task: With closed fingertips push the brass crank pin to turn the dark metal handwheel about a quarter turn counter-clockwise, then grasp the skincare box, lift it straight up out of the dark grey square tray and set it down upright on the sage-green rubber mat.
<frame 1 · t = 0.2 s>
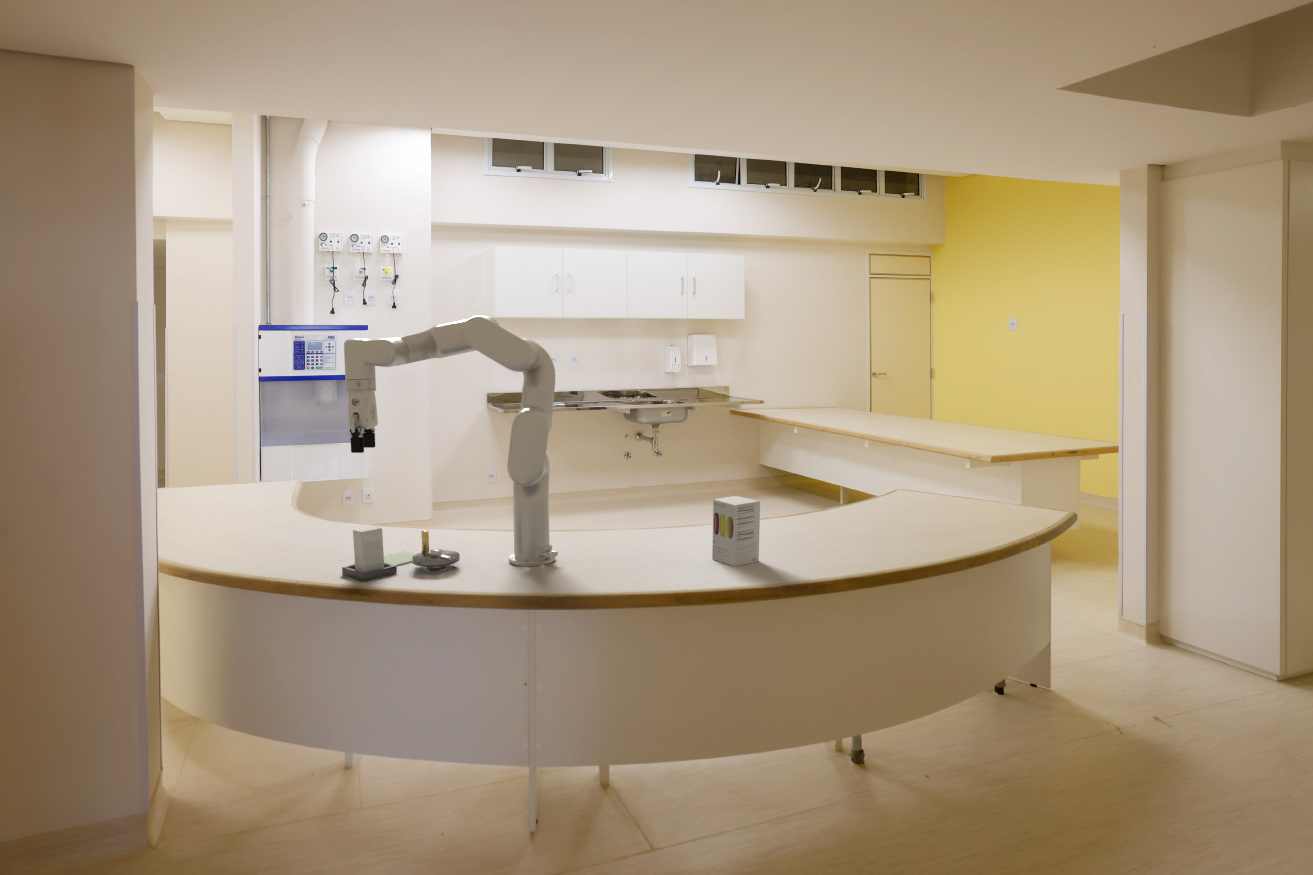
hand: (363, 449, 220), 31 cm above the table, tool pointing down, fingers open, 9 cm apart
wheel post: (436, 568, 217), on the table
mat: (399, 559, 226), on the table
dark grey square tray: (369, 574, 212), on the table
supplement box: (735, 560, 225), on the table
skincare box: (369, 574, 212), resting in dark grey square tray
handwheel: (435, 547, 216), point 6 cm above the table, hinge at 0.0°
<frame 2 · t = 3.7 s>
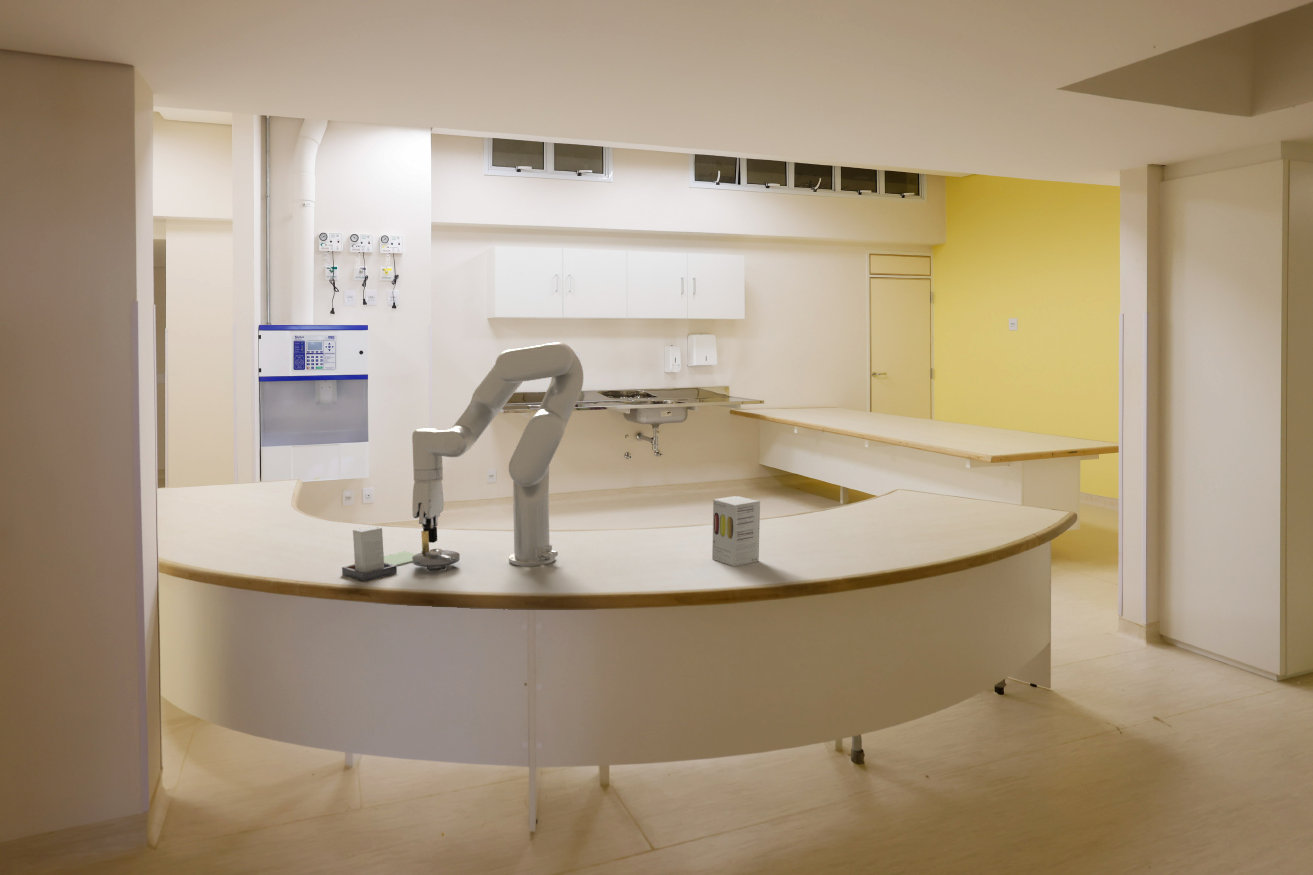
hand: (430, 541, 222), 6 cm above the table, tool pointing down, fingers closed
handwheel: (435, 547, 216), point 6 cm above the table, hinge at 0.0°, touching gripper
everything else where it was.
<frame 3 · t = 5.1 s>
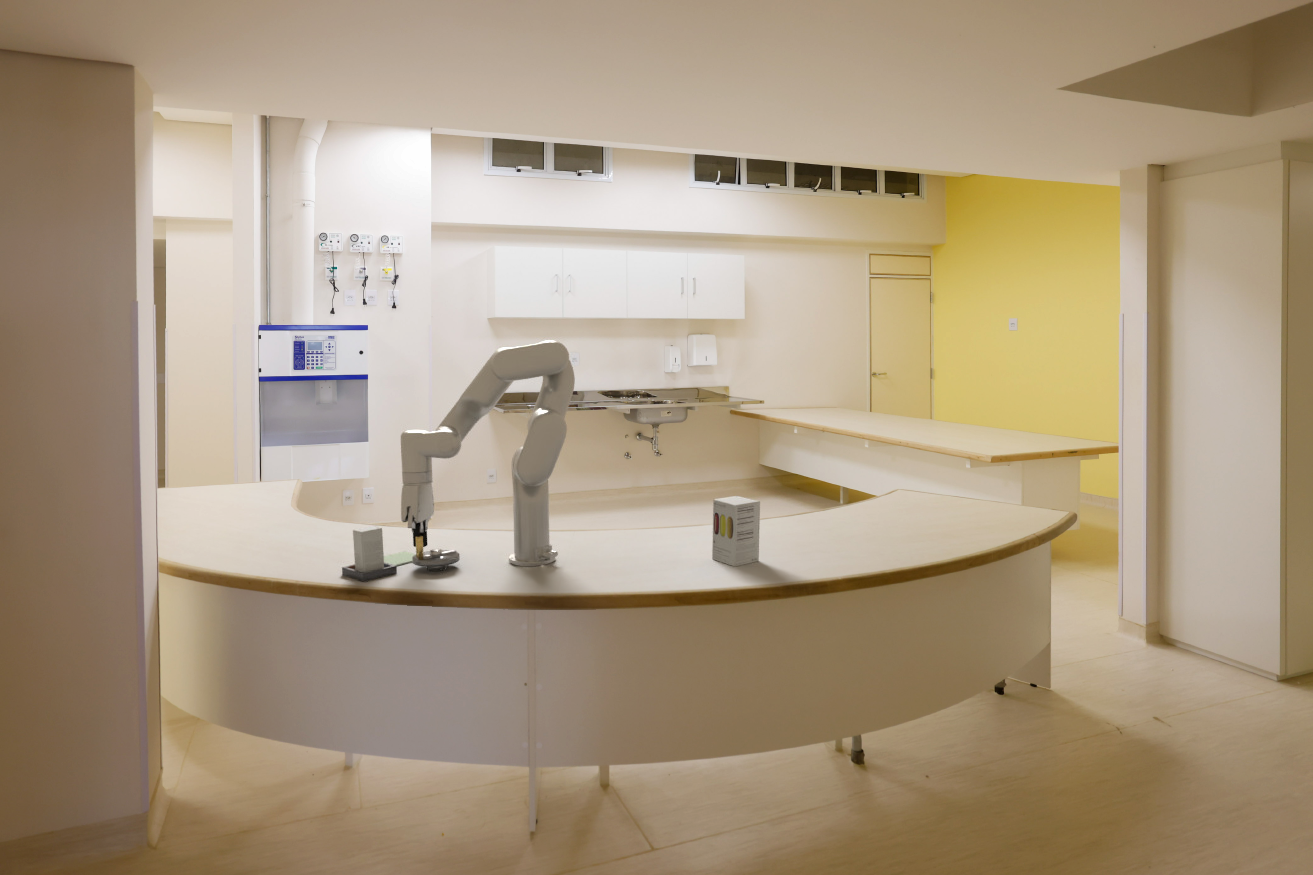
hand: (420, 546, 217), 6 cm above the table, tool pointing down, fingers closed
handwheel: (435, 547, 216), point 6 cm above the table, hinge at 80.1°, touching gripper
everything else where it was.
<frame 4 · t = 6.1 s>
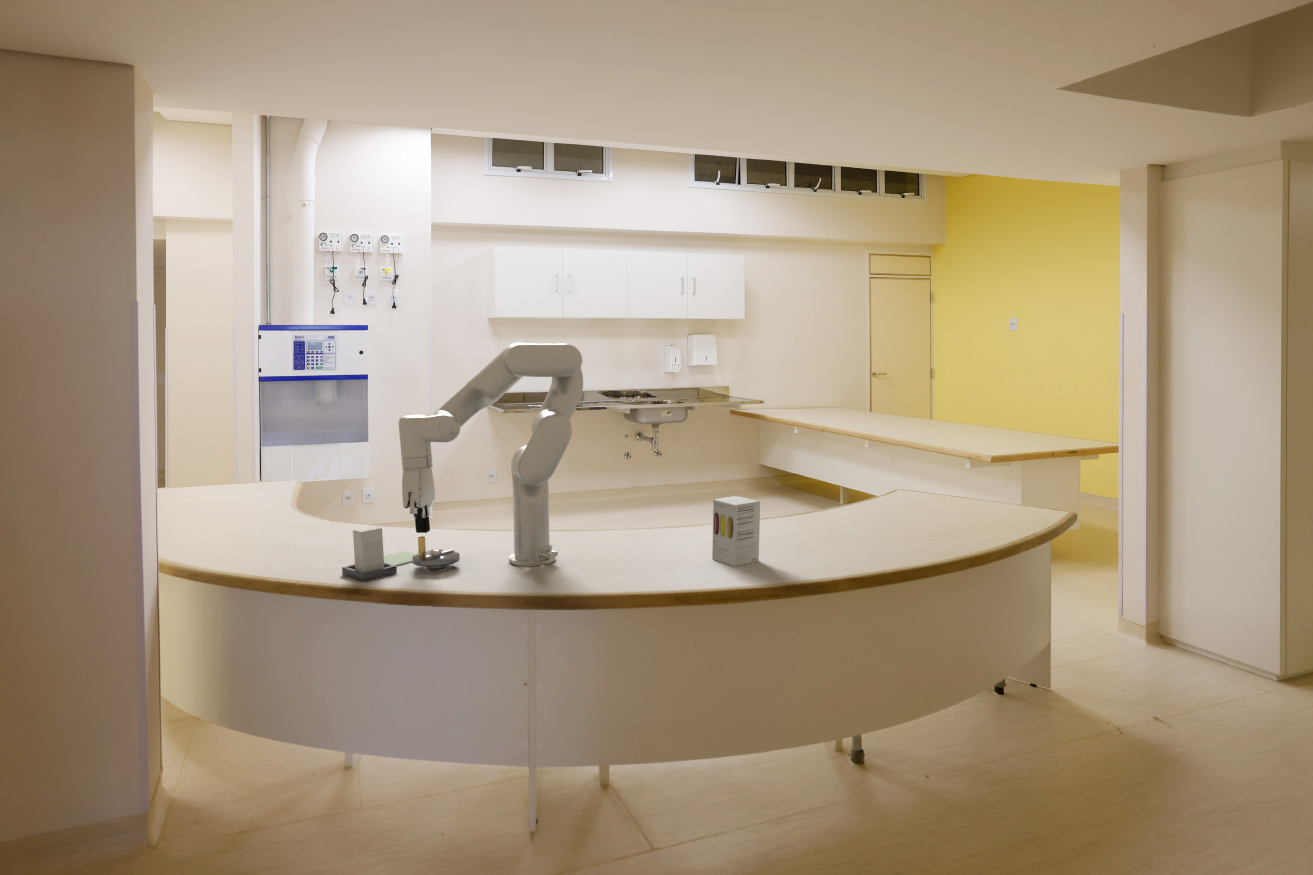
hand: (423, 531, 215), 10 cm above the table, tool pointing down, fingers closed
handwheel: (435, 547, 216), point 6 cm above the table, hinge at 93.9°
everything else where it was.
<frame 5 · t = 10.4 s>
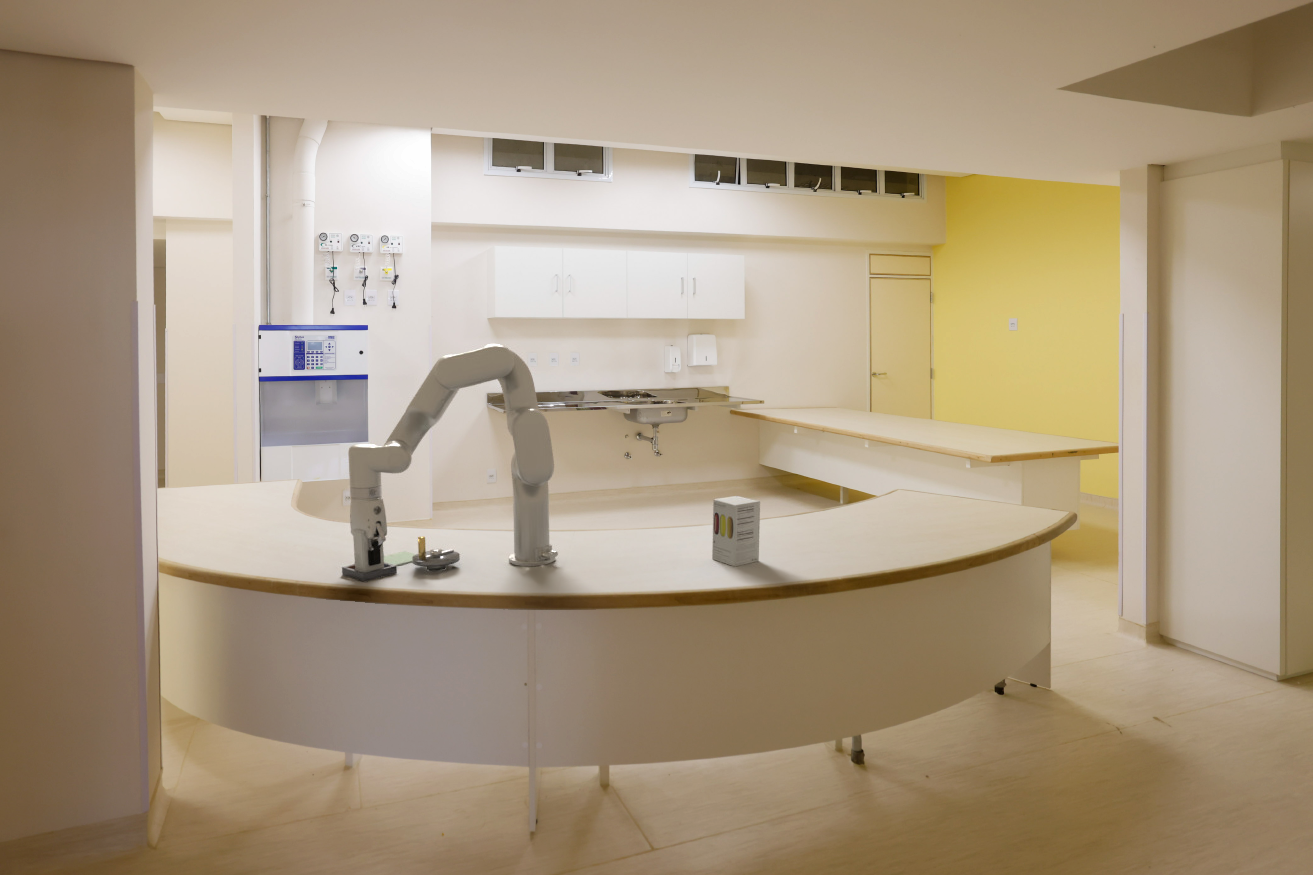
hand: (369, 562, 211), 3 cm above the table, tool pointing down, fingers closed on skincare box, 4 cm apart
skincare box: (369, 574, 212), resting in dark grey square tray, touching gripper
everything else where it was.
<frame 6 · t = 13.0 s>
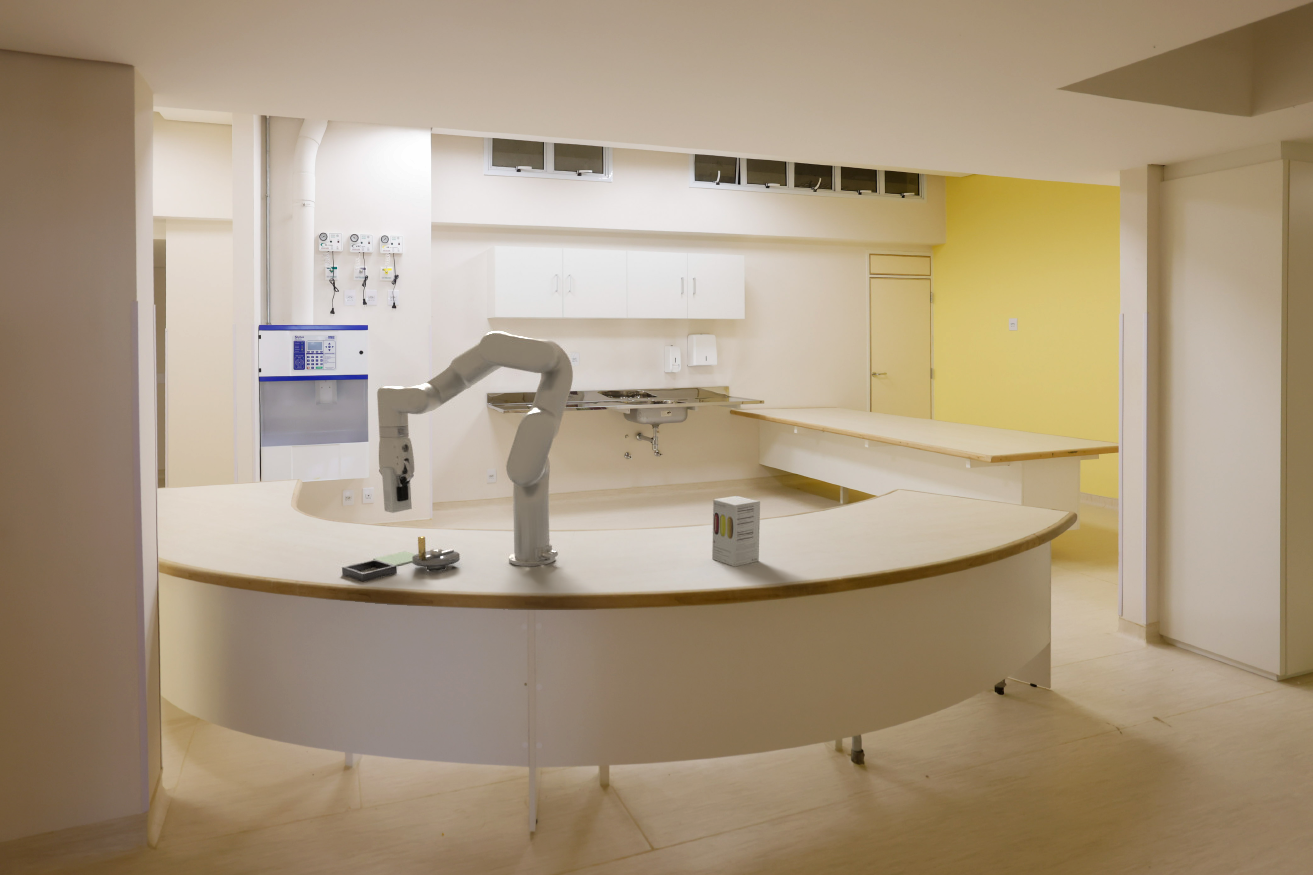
hand: (397, 498, 223), 17 cm above the table, tool pointing down, fingers closed on skincare box, 4 cm apart
skincare box: (397, 510, 223), point 14 cm above the table, touching gripper
everything else where it was.
when the fingers open (4 cm above the table, at t = 15.8 s): skincare box stays where it is, resting on mat.
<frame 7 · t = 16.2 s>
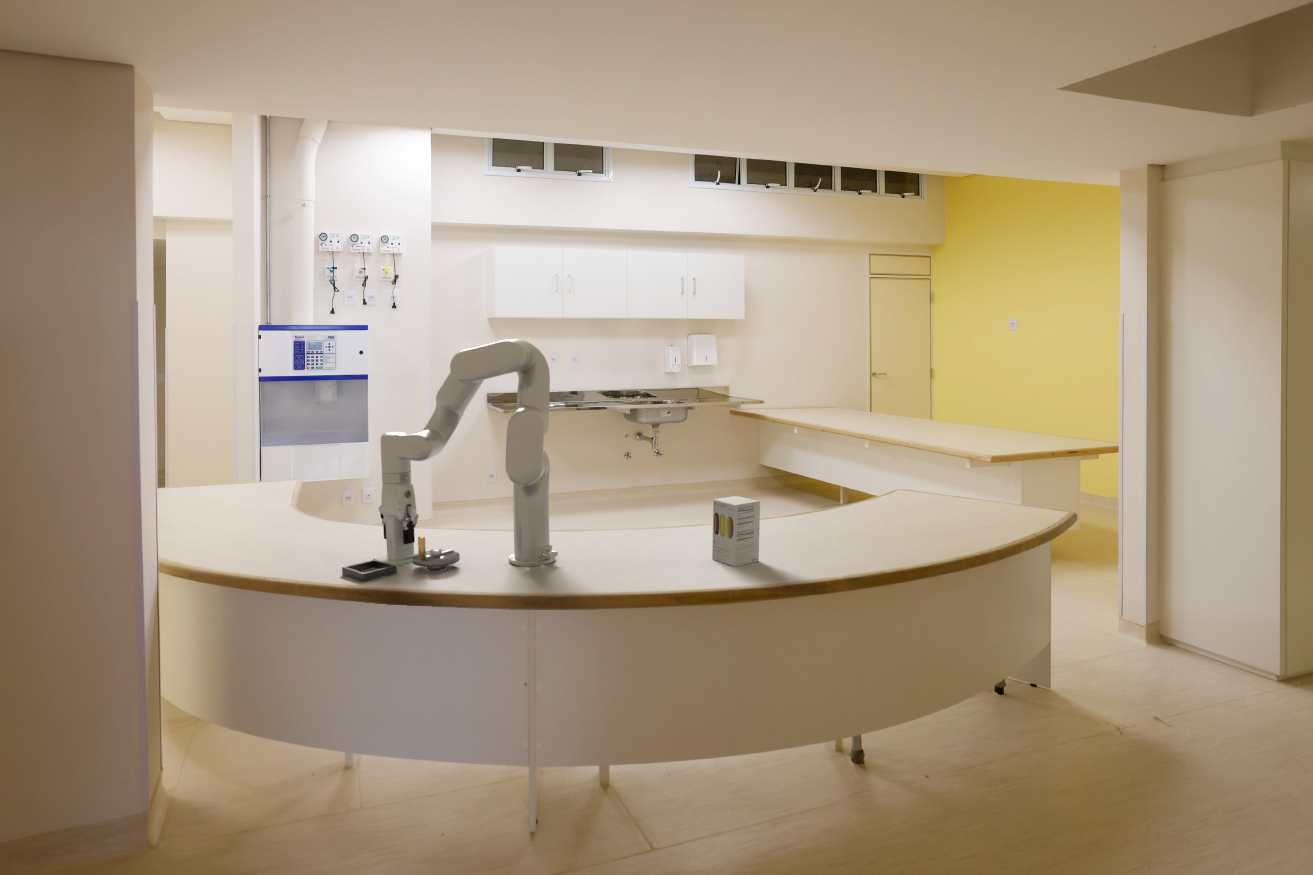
hand: (399, 540, 225), 5 cm above the table, tool pointing down, fingers open, 8 cm apart
skincare box: (400, 558, 226), resting on mat
everything else where it was.
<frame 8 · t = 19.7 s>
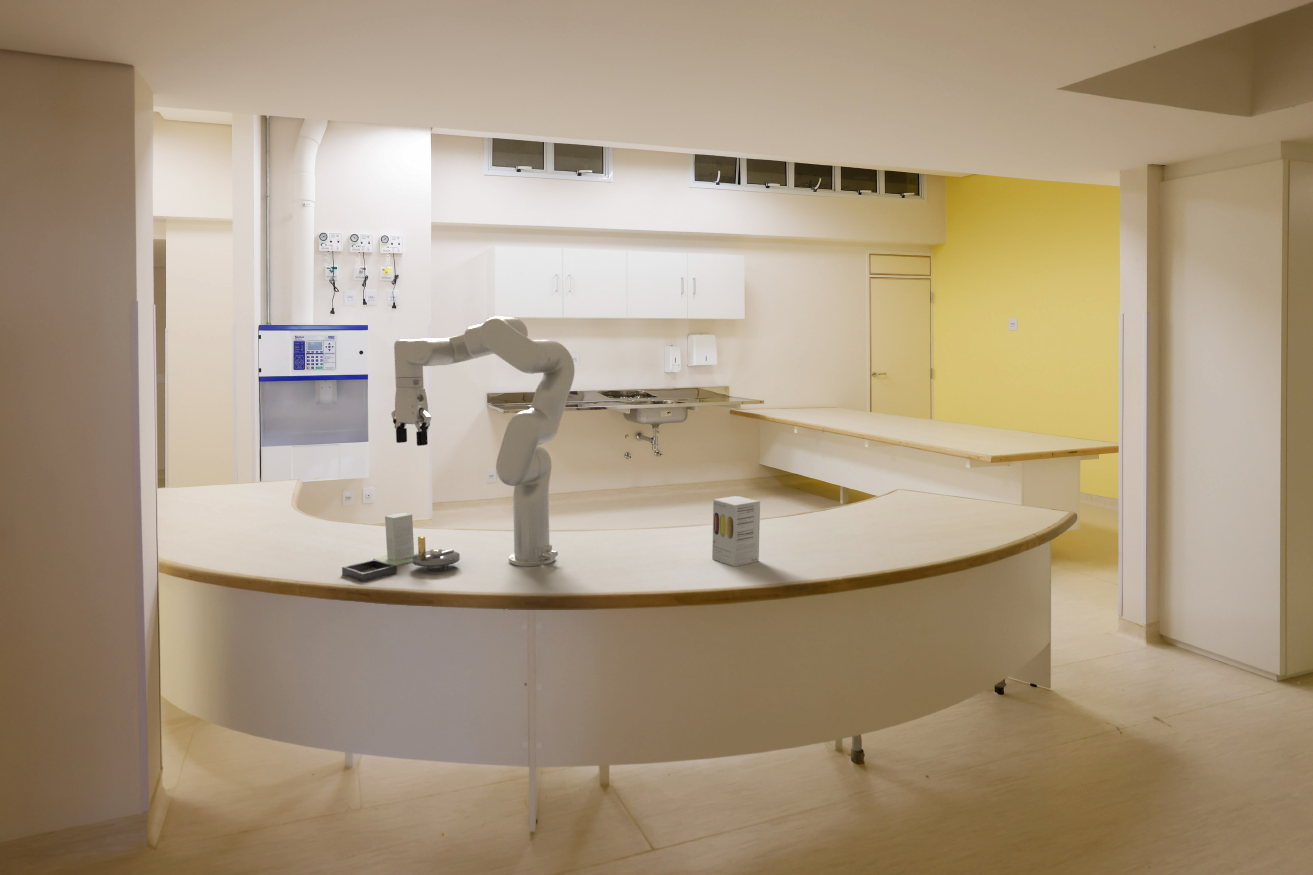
hand: (411, 443, 234), 30 cm above the table, tool pointing down, fingers open, 9 cm apart
nothing on the table moved.
at the end: handwheel at +94° (first picture: +0°); skincare box inside the target area on the mat (0.1 cm from its centre), point 0.2 cm above the mat's base; skincare box tilted 0° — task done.
